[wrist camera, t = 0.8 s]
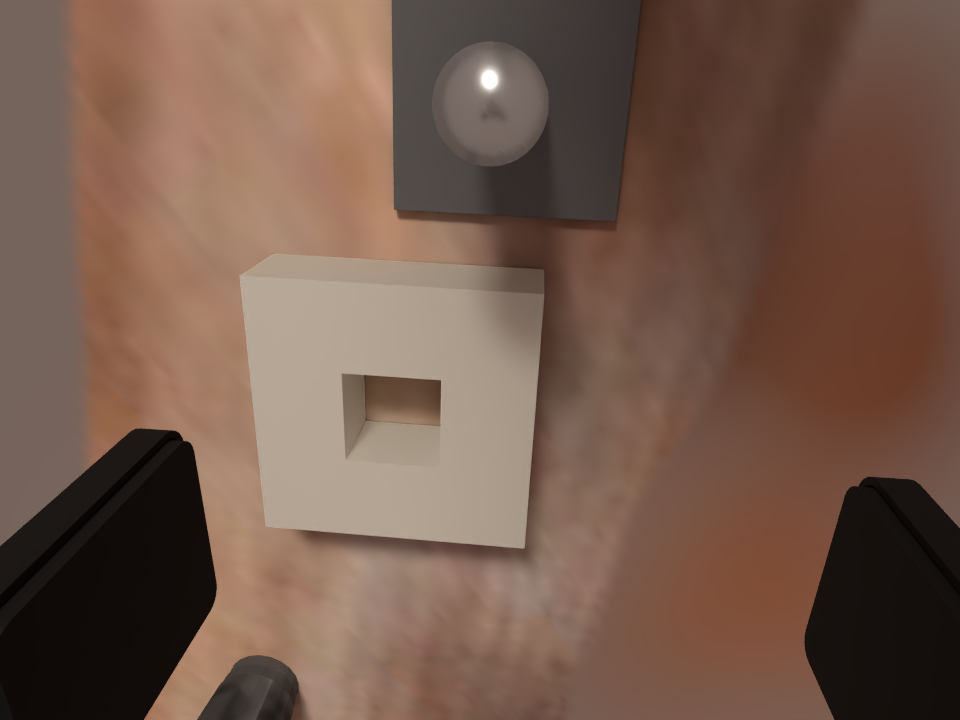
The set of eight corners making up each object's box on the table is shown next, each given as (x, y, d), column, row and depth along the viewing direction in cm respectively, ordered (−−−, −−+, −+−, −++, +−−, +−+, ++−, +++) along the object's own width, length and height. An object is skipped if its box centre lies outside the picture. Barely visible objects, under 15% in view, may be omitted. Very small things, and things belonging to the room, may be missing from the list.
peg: (475, 56, 28) (432, 39, 17) (548, 58, 28) (553, 43, 16) (473, 132, 29) (431, 163, 18) (542, 135, 29) (544, 169, 18)
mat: (393, -43, 27) (391, -45, 27) (643, -35, 26) (645, -37, 26) (396, 207, 31) (394, 209, 30) (614, 219, 30) (615, 221, 30)
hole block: (273, 253, 32) (239, 275, 29) (544, 269, 31) (544, 294, 28) (292, 482, 37) (265, 526, 34) (526, 501, 36) (524, 548, 33)
